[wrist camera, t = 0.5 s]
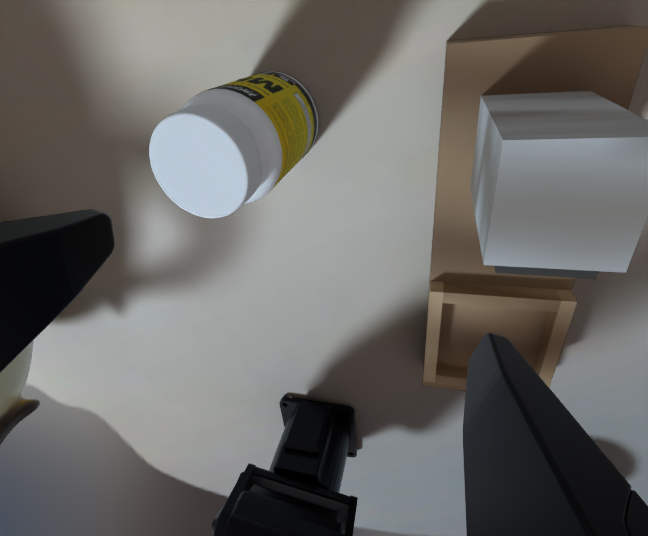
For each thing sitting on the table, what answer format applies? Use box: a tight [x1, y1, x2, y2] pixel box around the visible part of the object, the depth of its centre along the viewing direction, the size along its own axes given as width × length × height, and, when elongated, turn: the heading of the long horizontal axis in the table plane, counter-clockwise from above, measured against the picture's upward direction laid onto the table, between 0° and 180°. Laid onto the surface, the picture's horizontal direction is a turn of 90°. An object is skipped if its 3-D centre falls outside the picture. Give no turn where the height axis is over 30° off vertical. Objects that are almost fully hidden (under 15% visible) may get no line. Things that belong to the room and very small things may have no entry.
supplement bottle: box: [149, 71, 318, 218], centre depth 17 cm, size 5×5×8 cm
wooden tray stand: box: [423, 26, 648, 391], centre depth 18 cm, size 20×7×9 cm, turn 5°
